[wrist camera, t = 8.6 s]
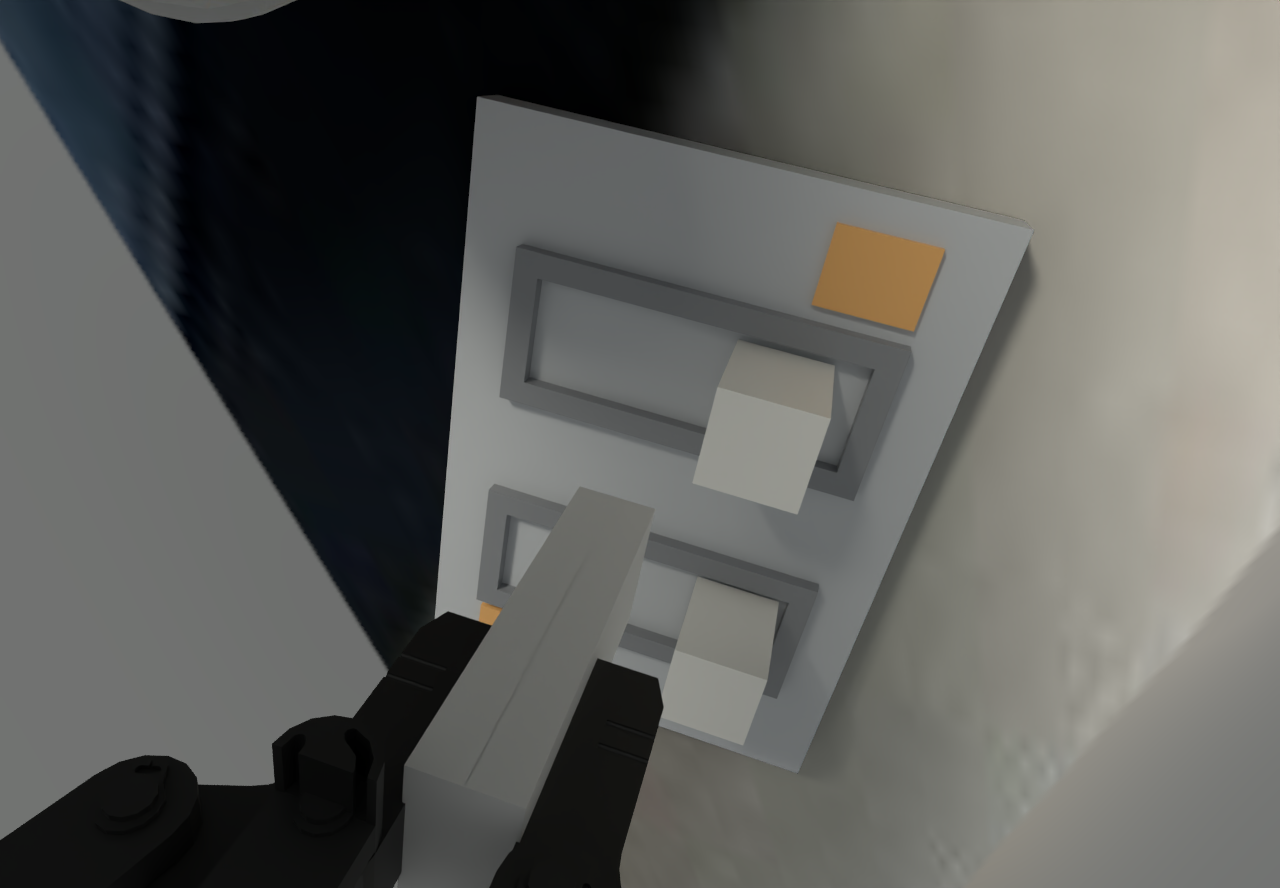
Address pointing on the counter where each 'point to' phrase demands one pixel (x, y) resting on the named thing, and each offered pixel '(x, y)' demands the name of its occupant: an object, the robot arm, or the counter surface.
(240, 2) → the disposable coffee cup
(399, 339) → the counter surface
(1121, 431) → the counter surface
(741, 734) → the tab
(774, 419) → the tab
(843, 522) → the switch plate
